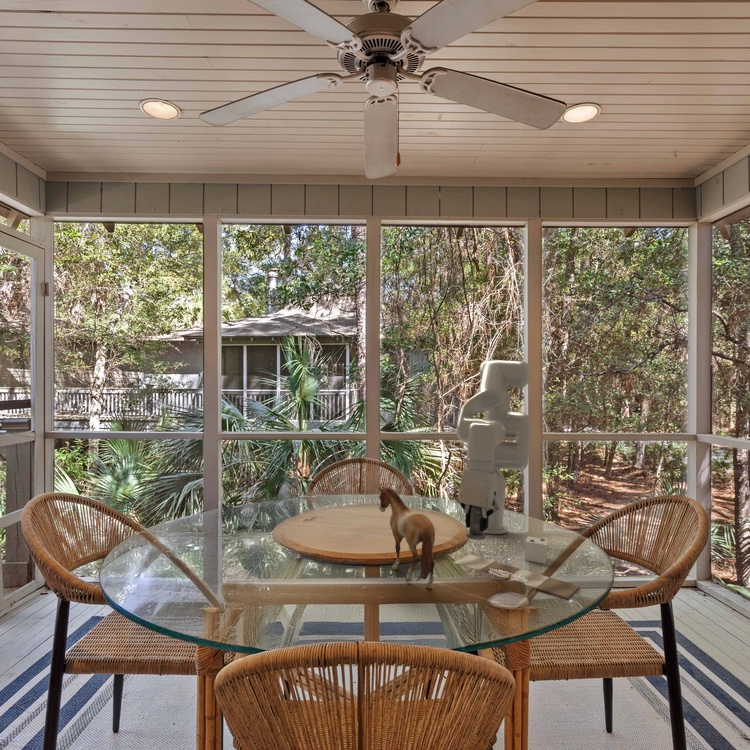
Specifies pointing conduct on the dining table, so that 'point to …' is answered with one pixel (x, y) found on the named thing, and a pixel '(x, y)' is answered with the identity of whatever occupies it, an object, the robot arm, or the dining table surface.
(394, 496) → the horse figurine
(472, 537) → the pawn
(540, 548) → the die
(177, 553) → the dining table surface
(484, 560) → the game board
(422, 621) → the dining table surface
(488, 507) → the robot arm
